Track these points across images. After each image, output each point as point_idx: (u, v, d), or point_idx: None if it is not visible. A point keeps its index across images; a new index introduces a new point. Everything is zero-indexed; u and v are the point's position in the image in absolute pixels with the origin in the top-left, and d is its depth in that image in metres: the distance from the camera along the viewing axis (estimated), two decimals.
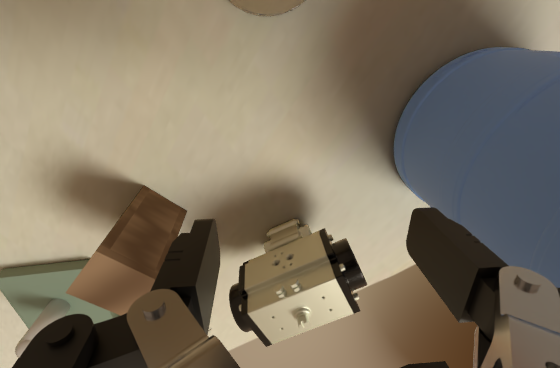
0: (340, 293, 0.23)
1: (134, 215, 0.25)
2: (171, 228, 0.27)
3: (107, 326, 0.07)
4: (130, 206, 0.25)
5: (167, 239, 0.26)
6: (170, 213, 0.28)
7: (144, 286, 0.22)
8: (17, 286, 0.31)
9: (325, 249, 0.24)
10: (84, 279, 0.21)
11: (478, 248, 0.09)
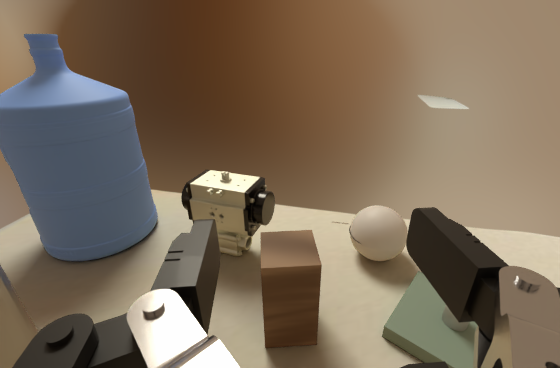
0: (199, 178, 0.37)
1: None
2: None
3: (107, 326, 0.07)
4: None
5: None
6: None
7: (271, 236, 0.27)
8: None
9: (189, 204, 0.37)
10: (295, 262, 0.24)
11: (478, 248, 0.09)
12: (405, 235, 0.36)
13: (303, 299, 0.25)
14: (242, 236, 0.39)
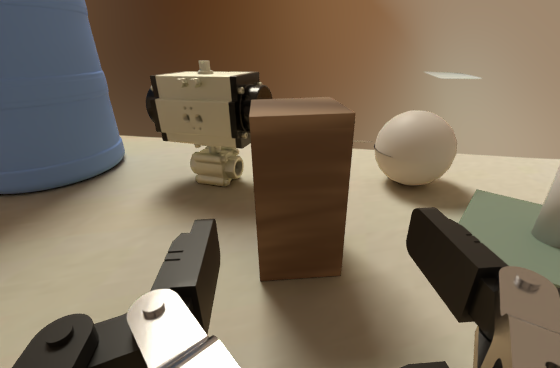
0: None
1: None
2: None
3: (107, 326, 0.07)
4: None
5: None
6: None
7: (268, 101, 0.17)
8: None
9: (155, 107, 0.27)
10: (310, 112, 0.14)
11: (478, 248, 0.09)
12: (455, 143, 0.26)
13: (322, 187, 0.15)
14: (230, 158, 0.29)
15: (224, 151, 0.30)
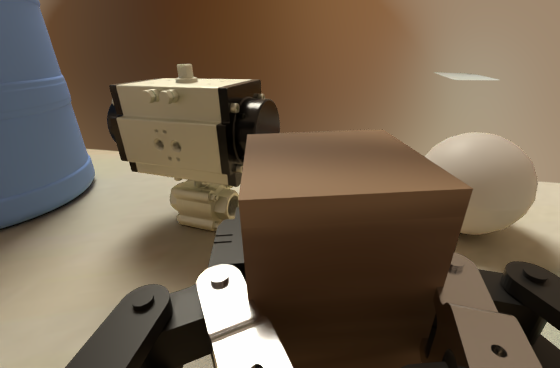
0: (138, 82, 0.20)
1: None
2: None
3: (176, 296, 0.08)
4: None
5: None
6: None
7: (277, 138, 0.10)
8: None
9: (118, 128, 0.19)
10: (370, 182, 0.06)
11: None
12: (536, 181, 0.18)
13: (384, 318, 0.08)
14: (221, 194, 0.22)
15: (214, 184, 0.22)
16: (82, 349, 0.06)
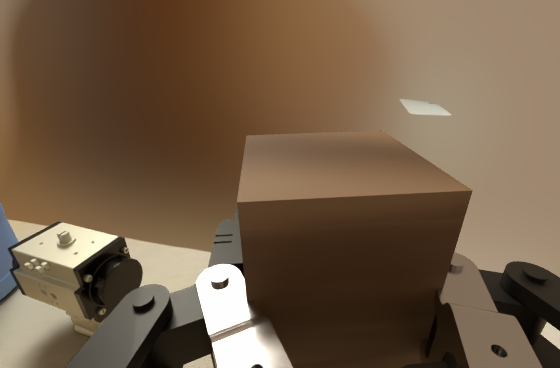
0: (33, 238, 0.27)
1: None
2: None
3: (176, 296, 0.08)
4: None
5: None
6: None
7: (276, 140, 0.10)
8: None
9: (15, 277, 0.26)
10: (369, 184, 0.06)
11: None
12: None
13: (383, 320, 0.08)
14: None
15: None
16: (82, 349, 0.06)
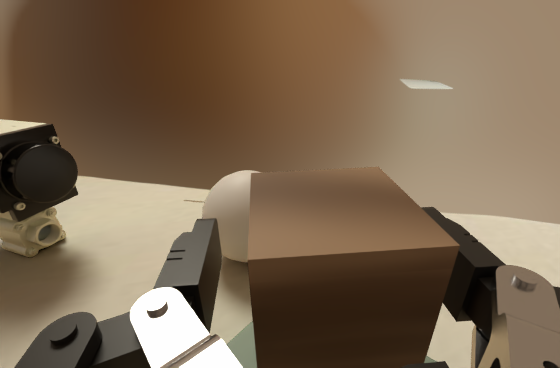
0: None
1: None
2: None
3: (110, 324, 0.07)
4: None
5: None
6: None
7: (279, 179, 0.10)
8: None
9: None
10: (366, 237, 0.07)
11: (475, 247, 0.09)
12: None
13: (380, 355, 0.08)
14: (35, 224, 0.24)
15: None
16: None
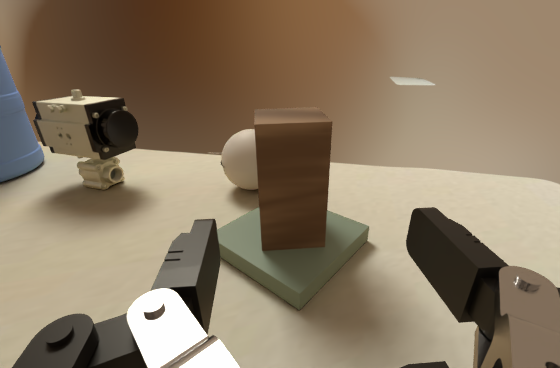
0: (52, 99, 0.34)
1: None
2: None
3: (107, 326, 0.07)
4: (259, 206, 0.21)
5: None
6: None
7: (268, 110, 0.22)
8: (290, 268, 0.21)
9: (38, 126, 0.33)
10: (299, 120, 0.19)
11: (478, 248, 0.09)
12: None
13: (309, 176, 0.20)
14: (107, 167, 0.36)
15: (105, 161, 0.36)
16: None
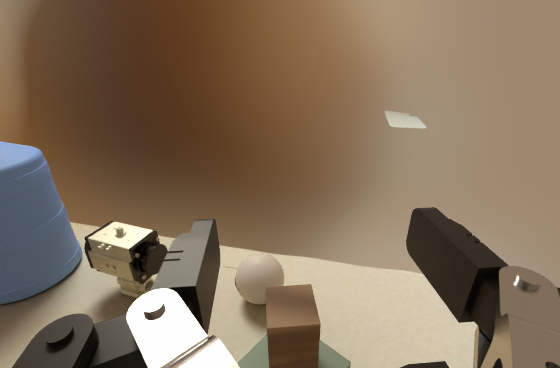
0: (99, 231, 0.42)
1: None
2: None
3: (106, 326, 0.07)
4: None
5: None
6: None
7: (275, 292, 0.30)
8: None
9: (88, 256, 0.41)
10: (297, 320, 0.27)
11: (478, 248, 0.09)
12: (276, 282, 0.40)
13: (304, 351, 0.28)
14: None
15: None
16: None
